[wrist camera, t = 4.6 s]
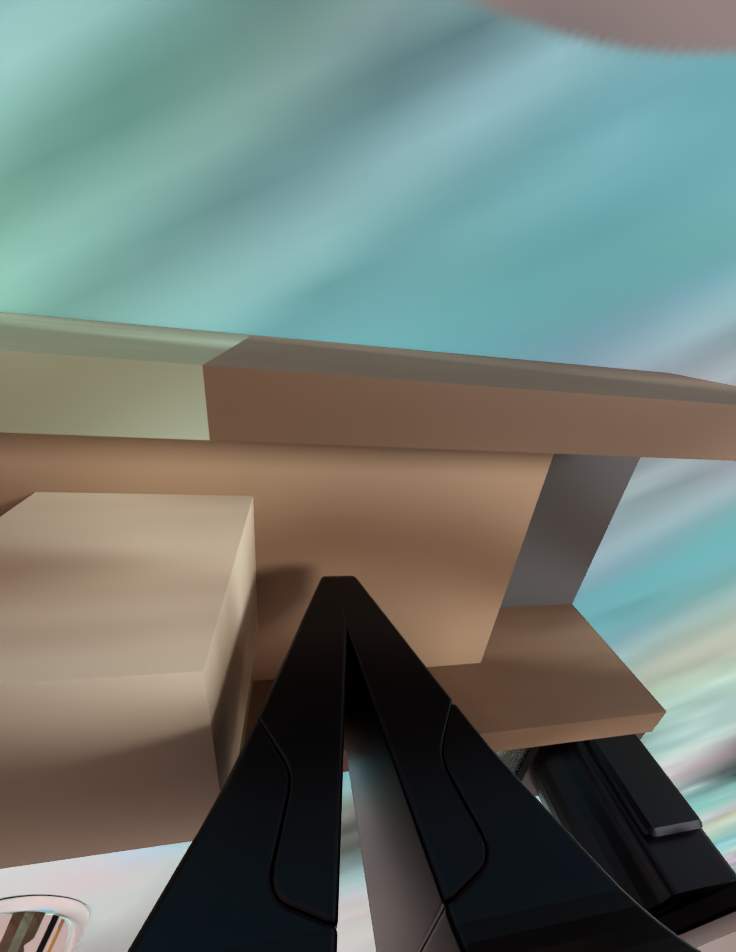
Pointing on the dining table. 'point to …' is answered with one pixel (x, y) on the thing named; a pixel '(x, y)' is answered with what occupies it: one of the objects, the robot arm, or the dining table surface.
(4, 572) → the birch block
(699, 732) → the dining table surface
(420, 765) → the robot arm
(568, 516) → the trap box
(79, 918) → the beer glass
